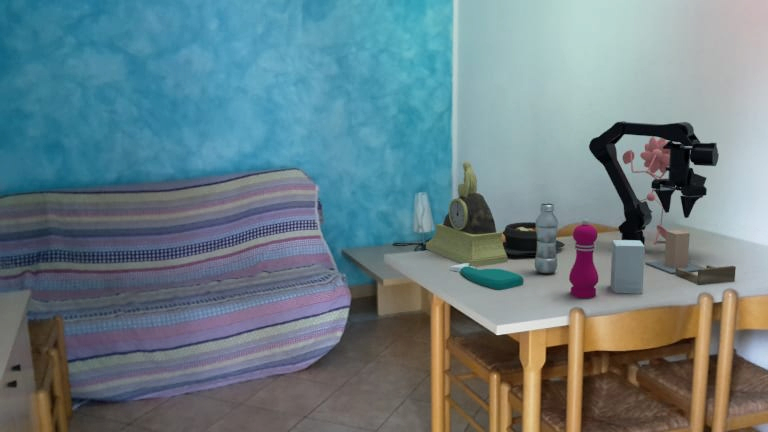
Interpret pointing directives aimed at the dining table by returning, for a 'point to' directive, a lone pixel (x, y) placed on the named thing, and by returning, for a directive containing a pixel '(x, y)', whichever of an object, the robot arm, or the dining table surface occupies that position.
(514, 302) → the dining table surface
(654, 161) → the pink artificial flower
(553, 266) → the plastic bottle
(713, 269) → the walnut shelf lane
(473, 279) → the spray bottle
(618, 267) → the supplement box
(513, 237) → the casserole
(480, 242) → the decorative clock
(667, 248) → the peach block
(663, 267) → the slate rubber mat
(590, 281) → the pepper mill
